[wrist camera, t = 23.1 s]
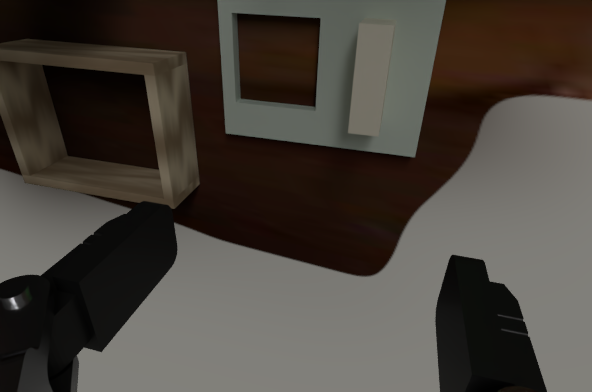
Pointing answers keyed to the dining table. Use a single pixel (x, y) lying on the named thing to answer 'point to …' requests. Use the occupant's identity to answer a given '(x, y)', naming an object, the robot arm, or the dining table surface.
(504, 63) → the dining table surface
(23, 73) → the wooden frame
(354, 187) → the dining table surface
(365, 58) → the lid
